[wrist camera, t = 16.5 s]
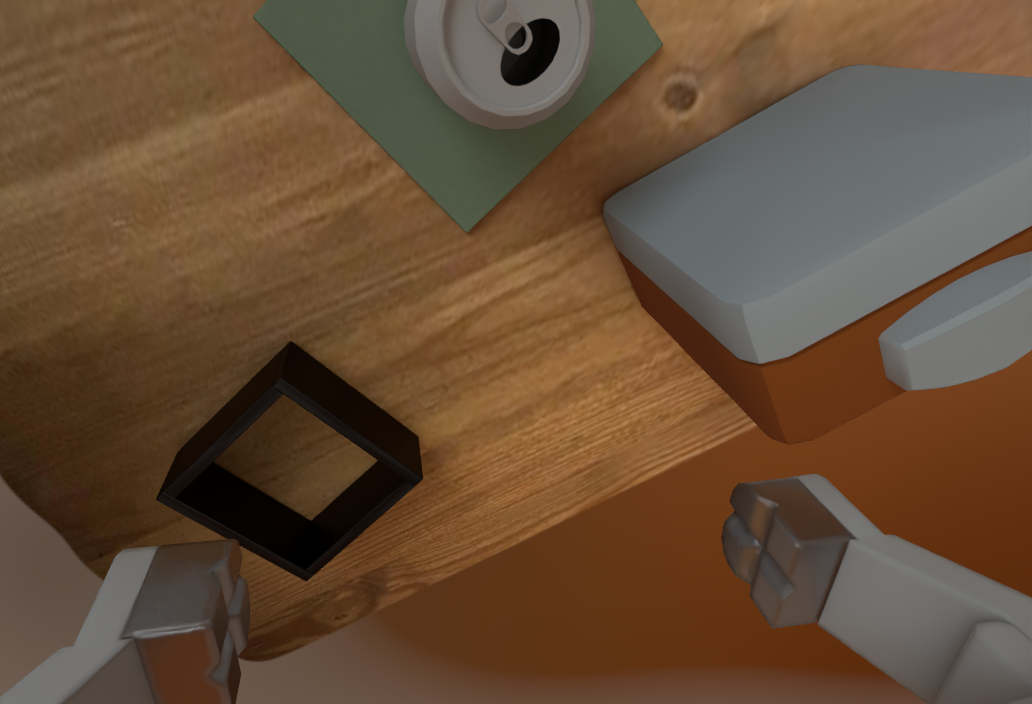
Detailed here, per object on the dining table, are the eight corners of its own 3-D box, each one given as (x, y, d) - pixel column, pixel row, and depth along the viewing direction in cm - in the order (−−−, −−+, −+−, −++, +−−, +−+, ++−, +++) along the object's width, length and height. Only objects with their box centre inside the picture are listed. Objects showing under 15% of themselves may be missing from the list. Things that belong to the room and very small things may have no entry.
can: (475, 133, 37) (516, 174, 26) (373, 32, 33) (374, 33, 23) (565, 31, 35) (646, 32, 25) (468, -85, 32) (515, -141, 21)
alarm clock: (638, 307, 45) (813, 491, 27) (591, 201, 41) (763, 337, 23) (870, 180, 44) (1209, 283, 26) (847, 58, 40) (1235, 81, 22)
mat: (254, 16, 33) (252, 16, 32) (476, -235, 30) (478, -240, 29) (465, 230, 40) (466, 233, 39) (659, 44, 37) (663, 44, 37)
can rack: (176, 452, 43) (154, 500, 39) (290, 340, 41) (281, 377, 37) (312, 532, 48) (306, 582, 44) (418, 436, 46) (423, 479, 42)
